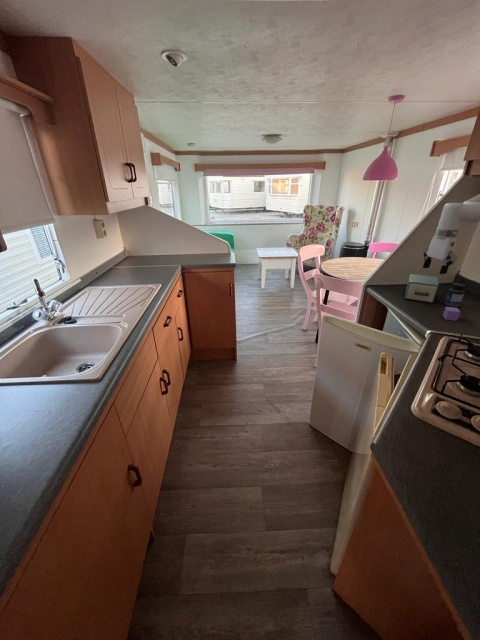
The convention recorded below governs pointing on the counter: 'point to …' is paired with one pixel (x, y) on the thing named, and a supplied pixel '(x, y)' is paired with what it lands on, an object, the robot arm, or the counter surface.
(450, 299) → the pill bottle
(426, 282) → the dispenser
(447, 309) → the purple cube
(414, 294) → the drawer
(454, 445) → the counter surface
